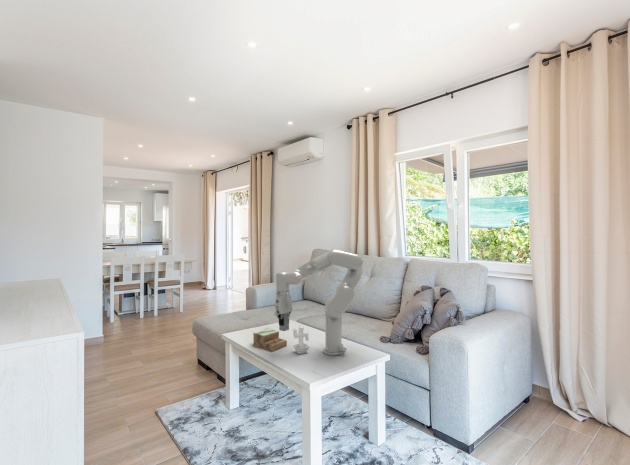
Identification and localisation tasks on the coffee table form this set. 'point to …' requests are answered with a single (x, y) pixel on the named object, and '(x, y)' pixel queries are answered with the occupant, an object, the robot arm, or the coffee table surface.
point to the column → (285, 322)
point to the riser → (269, 340)
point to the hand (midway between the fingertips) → (284, 324)
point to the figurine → (300, 340)
